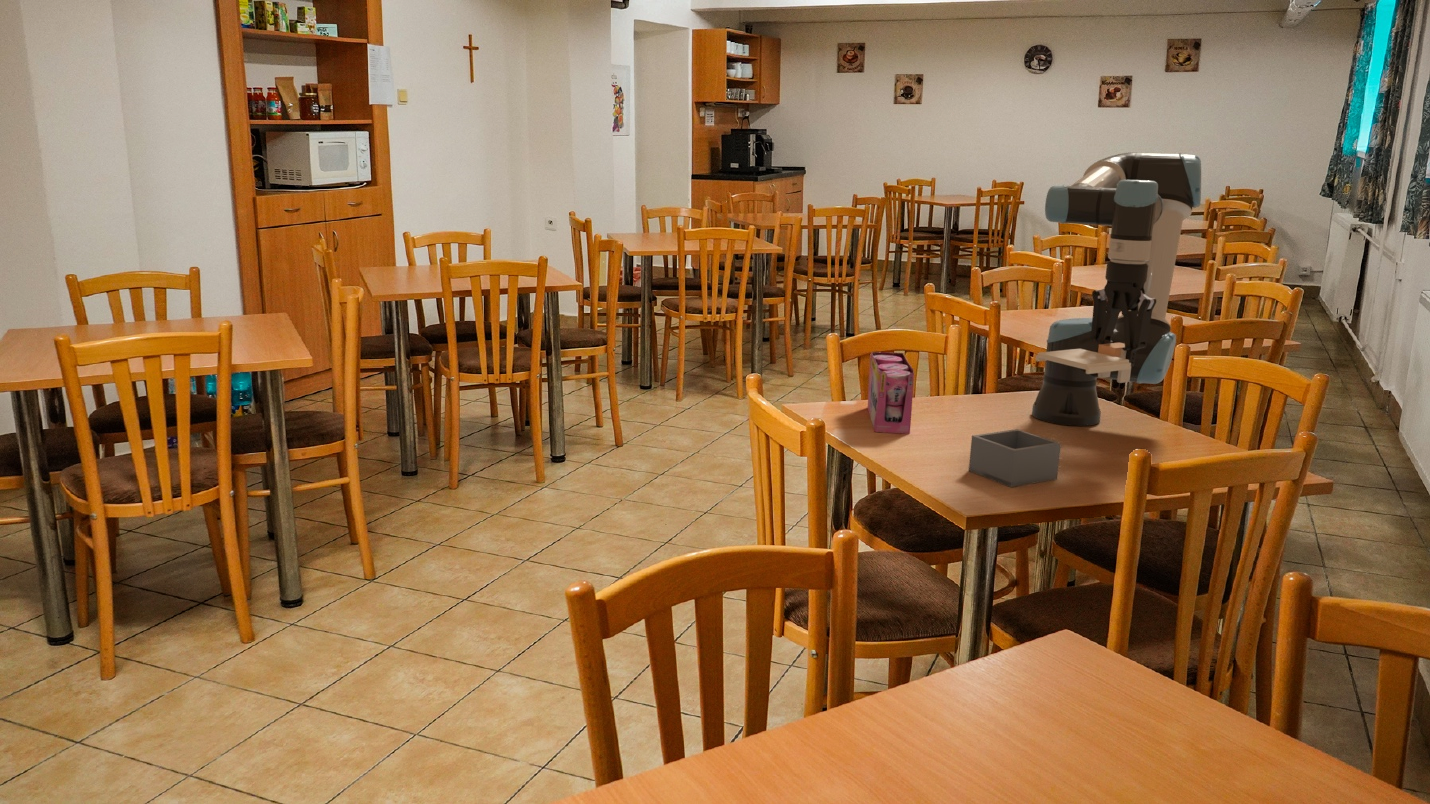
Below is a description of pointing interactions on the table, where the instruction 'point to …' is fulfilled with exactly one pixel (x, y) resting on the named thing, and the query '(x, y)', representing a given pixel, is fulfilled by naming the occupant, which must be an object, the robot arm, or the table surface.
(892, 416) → the gum box
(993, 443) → the tub
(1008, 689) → the table surface
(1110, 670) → the table surface
